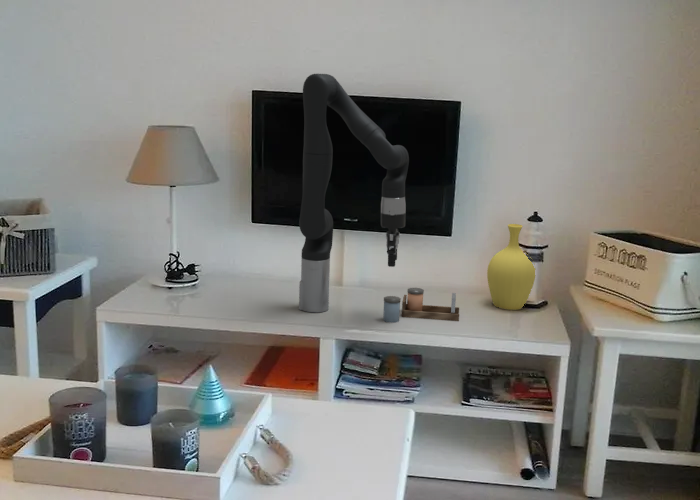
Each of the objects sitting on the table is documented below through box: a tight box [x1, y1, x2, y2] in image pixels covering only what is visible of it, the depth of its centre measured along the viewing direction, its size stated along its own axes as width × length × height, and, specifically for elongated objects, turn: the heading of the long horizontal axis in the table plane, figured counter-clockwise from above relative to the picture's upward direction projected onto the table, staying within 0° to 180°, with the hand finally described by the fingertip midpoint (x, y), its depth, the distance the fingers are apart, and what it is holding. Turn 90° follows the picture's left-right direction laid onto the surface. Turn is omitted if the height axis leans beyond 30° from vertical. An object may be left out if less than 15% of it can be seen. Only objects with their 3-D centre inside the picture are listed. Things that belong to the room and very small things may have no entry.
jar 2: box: [406, 287, 425, 311], centre depth 251 cm, size 5×5×8 cm
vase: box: [486, 223, 536, 311], centre depth 265 cm, size 16×16×28 cm
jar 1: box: [382, 295, 402, 323], centre depth 244 cm, size 5×5×8 cm
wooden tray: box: [401, 294, 460, 322], centre depth 251 cm, size 18×8×6 cm, turn 82°
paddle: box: [450, 292, 457, 314], centre depth 250 cm, size 1×6×7 cm, turn 172°
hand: (392, 263), depth 242 cm, fingers open, 8 cm apart
